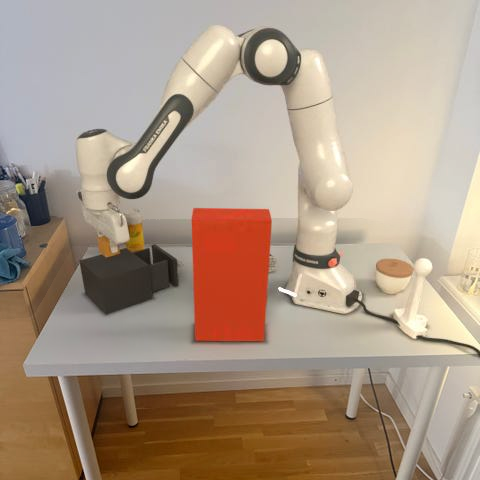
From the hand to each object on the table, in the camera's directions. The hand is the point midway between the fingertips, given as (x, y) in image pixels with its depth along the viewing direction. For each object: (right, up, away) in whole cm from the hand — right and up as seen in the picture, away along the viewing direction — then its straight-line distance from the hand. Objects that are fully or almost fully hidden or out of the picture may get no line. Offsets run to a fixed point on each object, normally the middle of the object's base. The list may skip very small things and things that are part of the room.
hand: (109, 248), depth 125 cm
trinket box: (+81, -10, +17) cm, 84 cm away
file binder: (+33, -23, -5) cm, 40 cm away
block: (0, -1, +1) cm, 1 cm away
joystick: (+82, -21, 0) cm, 84 cm away
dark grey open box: (0, -13, +9) cm, 15 cm away
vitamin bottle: (0, +3, +33) cm, 33 cm away
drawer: (+9, -8, +15) cm, 19 cm away
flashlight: (+42, 0, +30) cm, 51 cm away
